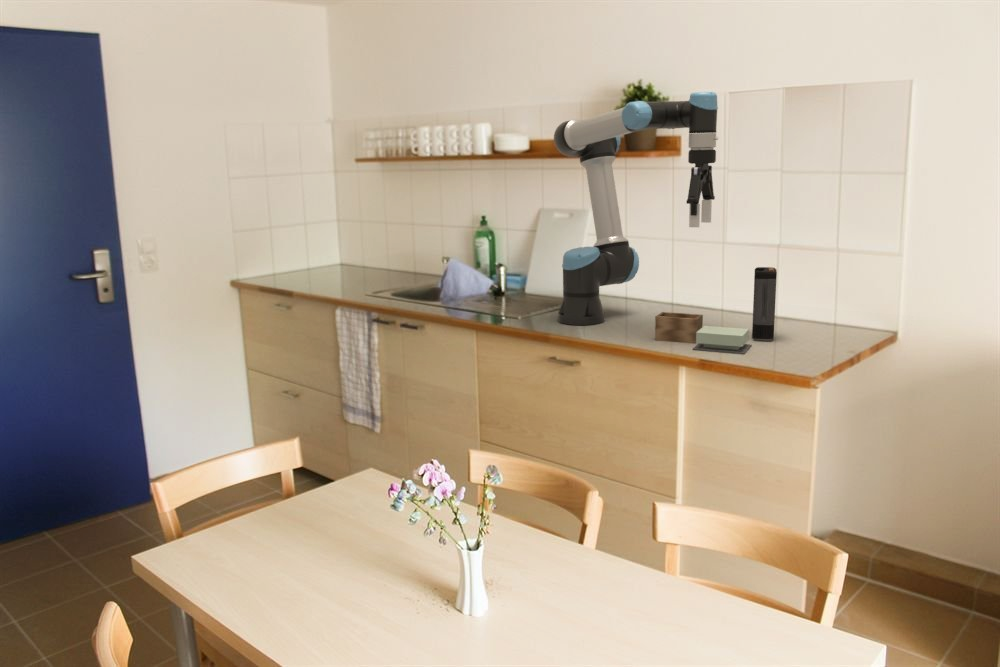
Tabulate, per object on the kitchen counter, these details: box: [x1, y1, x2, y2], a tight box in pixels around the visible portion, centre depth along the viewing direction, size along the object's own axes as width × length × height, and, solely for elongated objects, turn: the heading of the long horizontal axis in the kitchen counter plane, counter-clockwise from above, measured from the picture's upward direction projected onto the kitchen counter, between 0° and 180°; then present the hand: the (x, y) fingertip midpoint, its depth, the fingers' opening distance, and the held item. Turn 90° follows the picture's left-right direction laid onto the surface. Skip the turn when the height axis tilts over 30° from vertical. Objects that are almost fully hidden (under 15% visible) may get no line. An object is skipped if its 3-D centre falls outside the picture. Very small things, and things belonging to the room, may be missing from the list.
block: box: [695, 325, 750, 350], centre depth 234 cm, size 12×9×4 cm
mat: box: [692, 343, 753, 355], centre depth 235 cm, size 14×10×1 cm
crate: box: [654, 311, 704, 344], centre depth 245 cm, size 12×7×7 cm, turn 63°
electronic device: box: [751, 266, 778, 342], centre depth 243 cm, size 9×6×20 cm, turn 163°
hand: (700, 224), depth 242 cm, fingers open, 13 cm apart
